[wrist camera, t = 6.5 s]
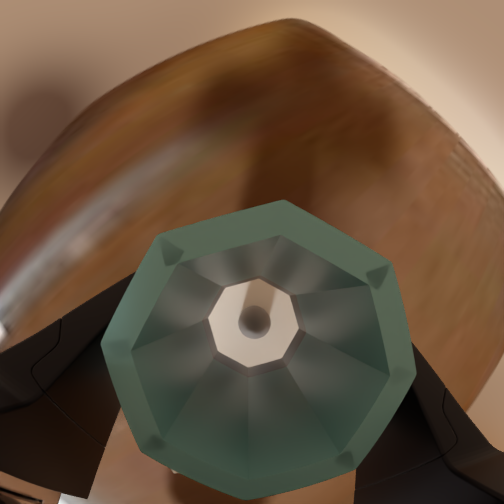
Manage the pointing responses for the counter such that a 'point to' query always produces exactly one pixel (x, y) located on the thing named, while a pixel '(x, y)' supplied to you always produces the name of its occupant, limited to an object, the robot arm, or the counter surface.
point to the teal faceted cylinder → (267, 374)
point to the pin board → (244, 343)
